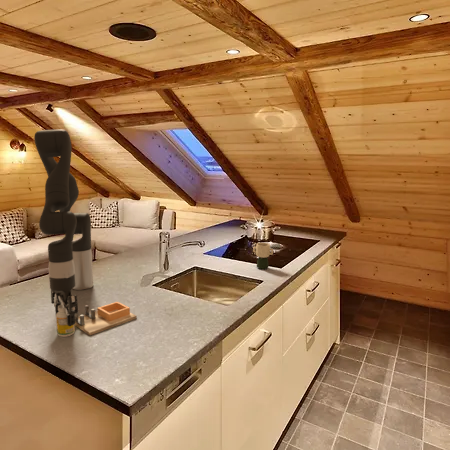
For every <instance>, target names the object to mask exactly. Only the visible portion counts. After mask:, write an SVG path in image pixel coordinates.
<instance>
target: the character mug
mask: <svg viewBox="0 0 450 450" xmlns="http://www.w3.org/2000/svg"><path fill="white" fill-rule="evenodd" d="M252 251H253V253H255V255H256V256H257V257H258V258H257V261H256V262H257V263H256V268H258V269H262V270H263V269H264V270H265V269H268V268H269V259H268V257H270V255H271V256H272V255H273V254H274V249H273V248H271V244H270V243H269V242H268V243H266V242H257V243H256V246H253V250H252Z"/></svg>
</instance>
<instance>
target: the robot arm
mask: <svg viewBox="0 0 450 450" xmlns="http://www.w3.org/2000/svg"><path fill="white" fill-rule="evenodd" d="M33 138H34V144H35V148H36V151H37V153H38V156H39V158H40V160H41V162H42V164H43V166H44V169H45V171H46V175H47V178H46V181H45V187H44V190H45V193H44V195H45V197H44V199H45V201H44V206H43V209H42V212H41V215H40V218H39V223H38V226H39V230H40V232H41V233H43V234H44V235H47V236H49V235H52V236H53V235H64V237H62V238H60V239H59V240H55V241H54V240H53V241H52V242H49V243H48V246H47V254H48V277H49V279H48V280H49V289H50V301H51V304H53V307H54V308H55V310H54V312H55V315H56V314H57V313H58V312H59V311H58V306H59V305H61V304H62V307H63V309H65V311H66V314H67V325H68V326H72V325H74V324H75V314H76V313H78V314H79V307H78V306H79V304H78V295H77V294H75V295H73V293H72V290H75V291H76V290H78V291H81V290H88V289H91V288H92V287H94V271H93V253H92V229H91V228H92V219H91V215H90V213H88V212H72V211H71V209H72V207H73V206H74V204H75V203H76V201H77V200H78V198H79V194H80V191H79V187H78V183H77V179H76V177H75V176H74V175H73V174H72V173H71V172H70V171H71V163H72V162H71V161H72V140H71V137H70V134H69V132H68V131H67V130H66V129H61V128H60V129H44V130H43V129H42V130H37V131H36V132H35V133H34V137H33ZM58 157H59V160H58V162H57V161H56V160H55V158H58ZM75 235H81V237H80V238H79V239H76V240H74V237H75ZM67 304H68V305H67ZM68 308H69V310H68Z"/></svg>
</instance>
